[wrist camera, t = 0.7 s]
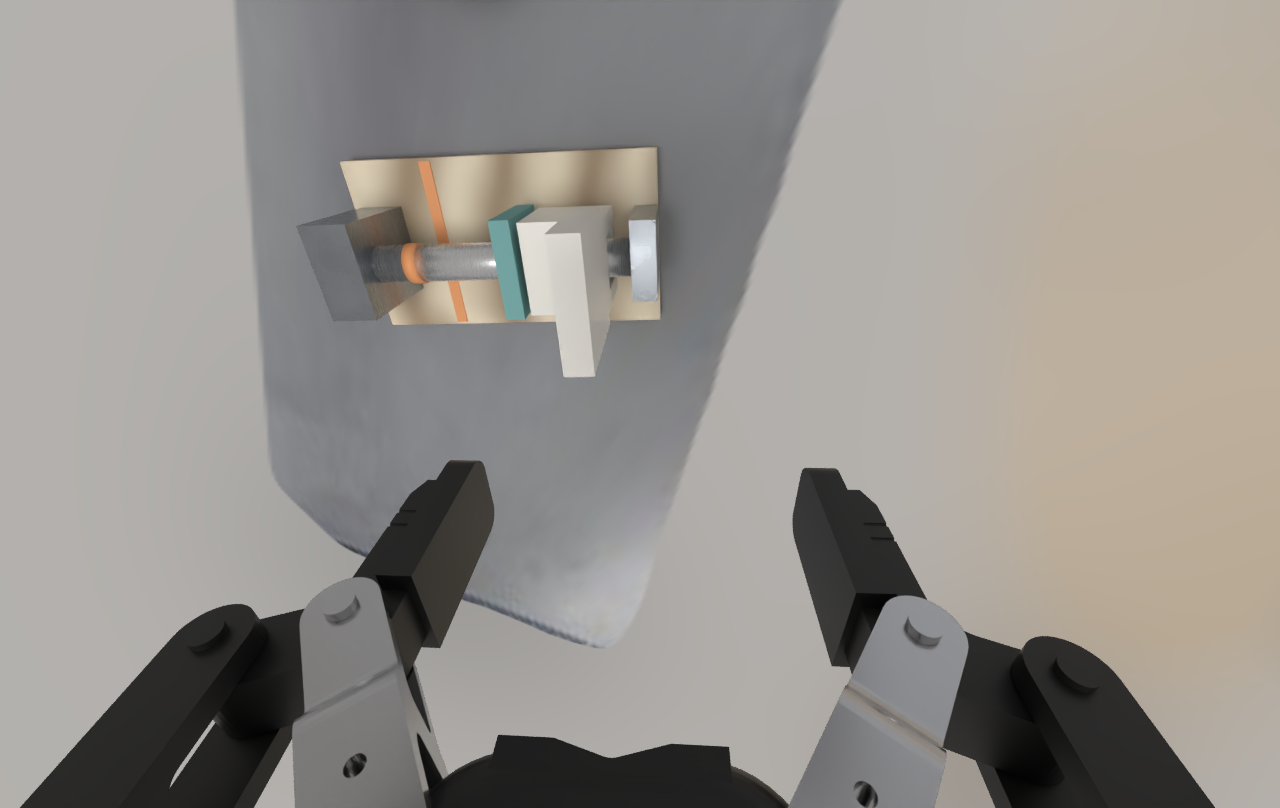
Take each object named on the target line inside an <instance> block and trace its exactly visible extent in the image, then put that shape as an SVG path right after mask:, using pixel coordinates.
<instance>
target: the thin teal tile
mask: <svg viewBox="0 0 1280 808" xmlns="http://www.w3.org/2000/svg"><path fill="white" fill-rule="evenodd" d="M533 211H534V204H528V205H515V206H513V207H512V208H510V209H508V210H506V211H504V212H503V213H501V214H499V215H497V216H495V217H493V218H492V219H490V220H488V221H487V222H488V227H489V233H490V238H491V243H492V248H493V253H494V258H495V263H496V268H497V274H498V279H499V284H500V289H501V294H502V299H503V304H504V309H505V315H506V320H525V319H526V318H527V316H528V315H529V314H530V312H531V309H530V303H529V297H528V291H527V285H526V279H525V276H524V270H523V264H522V258H521V252H520V246H519V237H518V231H517V225H516V223H517V222H518V221H520V220H521V219H523V218H524V217H526V216H527V215H529V214H530V213H532V212H533Z"/></svg>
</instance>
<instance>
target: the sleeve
mask: <svg viewBox="0 0 1280 808" xmlns="http://www.w3.org/2000/svg"><path fill="white" fill-rule="evenodd" d="M516 225H517V231H518V237H519V243H520V249H521V255H522V261H523V267H524V273H525V279H526V285H527V291H528V297H529V303H530V309H531V316H536V315H555V317H556V325H557V332H558V339H559V346H560V353H561V361H562V368H563V375H564V377H595V375H596V371H597V368H598V365H599V361H600V358H601V354H602V351H603V348H604V344H605V341H606V337H607V334H608V330H609V327H610V315H609V314H610V311H611V307H612V304H613V301H614V298H615V295H616V291H617V288H618V282H617V277H609V268H608V255H607V242H606V238H615V237H614V222H613V207H612V205H599V206H571V207H544V208H538V209H536V210H535V211H533V212H532V213H530V214H529V215H527V216H526V217H524V218H523V219H521V220H520V221H518V222H517V223H516Z"/></svg>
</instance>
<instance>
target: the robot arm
mask: <svg viewBox="0 0 1280 808" xmlns="http://www.w3.org/2000/svg"><path fill="white" fill-rule="evenodd" d="M493 521H494V505H493V500H492V496H491V492H490V488H489V484H488V480H487V475H486V471H485V467H484V465H483V463H482V462H481V461H463V460H451V461H449V462H448V463H447V464H446V466H445V467H444V469H443V470H442V472H441V473H440V475H439V476H438V478H437V480H427V481H426V482H425V483H424V484H422V485H421V486H420V487H418V488H417V489H416V490H415V491H413V492H412V493H411V494H410V495H409V497H408V498H407V499H406V501H405V502H404V504H403V505H402V507H401V508H400V511H399V513H397V514H396V515H395V517H394V518H393V520H392V521H391V523H390V527H387V528H386V530H385V531H384V533H383V534H382V536H381V537H380V539H379V540H378V542H377V543H376V544H375V546H374V547H373V549H372V550H371V552H370V553H369V555H368V556H367V557H366V559H365V560H364V562H363V563H362V565H361V566H360V568H359V569H358V571H357V572H356V574H355V575H354V576H353V578H349V579H345V580H342V581H340V582H337V583H335V584H333V585H331V586H329V587H328V588H326V589H324V590H323V591H322V592H320V593H319V594H318V595H317V596H315V597H314V598H313V599H312V600H311V601H310V603H309V604H308V605H307V607H306V608H305V609H302V610H297V611H293V612H289V613H285V614H280V615H277V616H272V617H268V618H264V619H259V618H258V617H257V615H256V614H255V612H254V611H253V610H252V609H251V608H250V607H249V606H246V605H243V604H232V605H227V606H222V607H219V608H216V609H213V610H211V611H208V612H206V613H204V614H202V615H200V616H199V617H197V618H195V619H194V620H192V621H191V622H189V623H188V624H187V625H185V626H184V627H183V628H182V629H180V630H179V631H178V632H177V633H176V634H175V635H174V636H173V637H172V638H171V639H170V640H169V642H168V643H167V644H166V645H165V646H164V647H163V648H162V649H161V650H160V652H159V653H158V654H157V655H156V656H155V657H154V658H153V659H152V661H151V662H150V663H149V664H148V665H147V666H146V667H145V668H144V669H143V671H142V672H141V673H140V674H139V675H138V676H137V677H136V678H135V680H134V681H133V682H132V683H131V684H130V685H129V686H128V687H127V689H126V690H125V691H124V692H123V693H122V694H121V695H120V696H119V697H118V699H117V700H116V701H115V702H114V703H113V704H112V705H111V706H110V708H109V709H108V710H107V711H106V712H105V713H104V714H103V715H102V717H101V718H100V719H99V720H98V721H97V722H96V723H95V725H94V726H93V727H92V728H91V729H90V730H89V731H88V732H87V733H86V734H85V736H84V737H83V738H82V739H81V740H80V741H79V742H78V743H77V745H76V746H75V747H74V748H73V749H72V750H71V751H70V752H69V753H68V755H67V756H66V757H65V758H64V759H63V760H62V761H61V762H60V764H59V765H58V766H57V767H56V768H55V769H54V770H53V771H52V772H51V774H50V775H49V776H48V777H47V778H46V779H45V780H44V782H42V784H41V785H40V786H39V787H38V788H37V789H36V790H35V791H34V793H33V794H32V795H31V796H30V797H29V798H28V799H27V800H26V802H25V803H24V804H23V805H22V806H21V807H20V808H254V806H255V804H256V803H257V801H258V799H259V797H260V795H261V794H262V792H263V790H264V788H265V786H266V784H267V783H268V781H269V779H270V777H271V776H272V774H273V772H274V770H275V768H276V767H277V765H278V763H279V761H280V759H281V758H282V755H283V754H284V752H285V750H286V749H287V747H288V745H289V743H290V741H291V739H292V743H293V767H294V791H295V792H294V793H295V808H934V806H935V802H936V798H937V795H938V791H939V787H940V783H941V779H942V775H943V771H944V767H945V762H946V750H944V749H943V748H945V749H947V750H950V751H953V752H955V753H958V754H961V755H963V756H966V757H969V758H971V759H973V760H976V762H977V765H978V767H979V770H980V772H981V774H982V777H983V779H984V781H985V784H986V786H987V789H988V791H989V793H990V796H991V798H992V800H993V803H994V805H995V808H1215V807H1214V806H1213V804H1212V803H1211V801H1210V800H1209V799H1208V798H1207V796H1206V795H1205V794H1204V792H1203V791H1202V790H1201V788H1200V787H1199V785H1198V784H1197V783H1196V781H1195V780H1194V779H1193V777H1192V776H1191V774H1190V773H1189V772H1188V770H1187V769H1186V768H1185V766H1184V765H1183V764H1182V762H1181V761H1180V760H1179V758H1178V757H1177V755H1176V754H1175V753H1174V752H1173V750H1172V749H1171V747H1170V746H1169V745H1168V743H1167V742H1166V741H1165V739H1164V738H1163V737H1162V735H1161V734H1160V732H1159V731H1158V730H1157V728H1156V727H1155V726H1154V724H1153V723H1152V722H1151V720H1150V719H1149V718H1148V716H1147V715H1146V713H1145V712H1144V711H1143V709H1142V708H1141V707H1140V706H1139V704H1138V703H1137V701H1136V700H1135V699H1134V697H1133V696H1132V695H1131V693H1130V692H1129V691H1128V689H1127V688H1126V687H1125V685H1124V684H1123V682H1122V681H1121V680H1120V679H1119V677H1118V676H1117V675H1116V674H1115V673H1114V671H1113V670H1112V669H1110V668H1109V667H1108V666H1107V665H1106V664H1105V663H1104V662H1103V661H1101V660H1100V659H1099V658H1098V657H1096V656H1094V655H1093V654H1092V653H1090V652H1089V651H1087V650H1085V649H1084V648H1082V647H1080V646H1078V645H1076V644H1074V643H1071V642H1069V641H1066V640H1063V639H1059V638H1055V637H1049V636H1040V637H1035V638H1033V639H1030V640H1029V641H1028V642H1027V643H1026V644H1025V646H1024V647H1023V648H1022V650H1020V649H1017V648H1013V647H1010V646H1007V645H1004V644H1000V643H997V642H994V641H991V640H987V639H984V638H980V637H978V636H975V635H972V634H970V633H967V632H965V631H964V630H963V629H962V627H961V626H960V624H959V623H958V622H957V621H956V619H955V618H954V617H953V616H952V615H950V614H949V613H948V612H947V611H946V610H944V609H943V608H941V607H940V606H938V605H936V604H935V603H933V602H930V601H928V600H927V599H926V597H925V595H924V593H923V591H922V590H921V588H920V586H919V584H918V582H917V580H916V578H915V576H914V575H913V573H912V571H911V569H910V567H909V565H908V563H907V561H906V560H905V558H904V556H903V554H902V552H901V550H900V548H899V546H898V544H897V542H894V537H893V535H892V533H891V531H890V530H889V528H888V527H887V526H886V522H885V520H884V518H883V516H882V514H881V512H880V511H879V509H878V507H877V505H876V504H875V503H873V502H872V501H871V500H870V499H869V498H868V497H867V496H866V495H864V494H863V493H862V492H861V491H860V490H847V488H846V485H845V483H844V481H843V479H842V477H841V475H840V473H839V471H838V470H837V469H834V468H804V469H803V470H802V473H801V477H800V482H799V487H798V492H797V497H796V502H795V507H794V512H793V534H794V539H795V542H796V546H797V549H798V553H799V556H800V560H801V563H802V567H803V570H804V573H805V576H806V580H807V583H808V587H809V590H810V594H811V597H812V600H813V604H814V607H815V611H816V614H817V617H818V621H819V624H820V628H821V631H822V634H823V638H824V641H825V644H826V648H827V651H828V655H829V658H830V662H831V665H832V666H840V667H850V670H851V673H852V676H851V678H850V680H849V682H848V684H847V686H845V688H844V689H843V691H842V694H841V695H840V698H839V700H838V702H837V704H836V706H835V708H834V710H833V712H832V715H831V717H830V719H829V721H828V723H827V725H826V727H825V730H824V732H823V734H822V736H821V738H820V740H819V742H818V745H817V747H816V749H815V751H814V753H813V755H812V757H811V760H810V762H809V764H808V766H807V768H806V771H805V772H804V775H803V777H802V779H801V781H800V783H799V785H798V788H797V790H796V792H795V794H794V796H793V798H792V800H791V803H790V805H788V804H787V803H786V801H785V800H784V799H783V798H782V797H781V796H779V795H778V794H777V793H776V792H775V791H774V790H773V789H771V788H770V787H769V786H768V785H766V784H765V783H763V782H762V781H760V780H759V779H758V778H756V777H754V776H753V775H750V774H749V773H747V772H745V771H743V770H741V769H738V768H736V767H733V766H731V763H730V752H729V747H721V746H702V745H683V744H669V745H665V746H661V747H657V748H653V749H649V750H645V751H641V752H637V753H633V754H629V755H625V756H621V757H616V758H607V757H603V756H601V755H598V754H595V753H593V752H590V751H588V750H585V749H582V748H579V747H577V746H574V745H572V744H569V743H566V742H564V741H561V740H558V739H556V738H549V737H529V736H510V735H498V737H497V741H496V744H495V748H494V752H493V754H491V755H487V756H484V757H482V758H479V759H476V760H474V761H471V762H470V763H468V764H466V765H464V766H462V767H460V768H458V769H457V770H455V771H454V772H452V773H451V774H450V775H448V772H447V769H446V766H445V763H444V761H443V758H442V755H441V753H440V750H439V747H438V744H437V741H436V737H435V734H434V730H433V727H432V723H431V719H430V716H429V712H428V708H427V705H426V701H425V697H424V694H423V690H422V686H421V683H420V680H419V675H418V672H417V668H416V666H415V663H414V661H415V660H416V657H417V655H418V653H419V651H420V649H421V647H431V648H440V647H441V645H442V642H443V640H444V637H445V636H446V633H447V631H448V629H449V626H450V624H451V622H452V619H453V617H454V615H455V612H456V610H457V608H458V606H459V603H460V601H461V599H462V596H463V594H464V592H465V589H466V587H467V585H468V582H469V580H470V578H471V576H472V573H473V571H474V569H475V566H476V564H477V562H478V559H479V557H480V555H481V553H482V550H483V548H484V546H485V543H486V541H487V539H488V536H489V534H490V532H491V529H492V526H493ZM212 720H214V721H215V722H216V723H215V724H214V725H213V727H212V729H211V730H210V731H209V733H208V734H207V736H206V737H205V739H204V740H203V741H202V743H201V744H200V746H199V747H198V748H197V750H196V751H195V753H194V754H193V756H192V757H191V759H190V760H189V761H188V763H187V764H186V766H185V767H184V769H183V770H182V771H181V773H180V774H179V776H178V777H177V779H176V780H175V782H174V783H173V784H172V786H171V787H170V785H171V781H172V779H173V777H174V775H175V773H176V771H177V770H178V768H179V767H180V765H181V764H182V762H183V761H184V759H185V758H186V757H187V755H188V754H189V752H190V751H191V749H192V748H193V747H194V745H195V744H196V742H197V741H198V739H199V738H200V737H201V735H202V734H203V732H204V731H205V730H206V728H207V727H208V725H209V724H210V722H211V721H212ZM169 788H170V789H169Z"/></svg>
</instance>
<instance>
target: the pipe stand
mask: <svg viewBox="0 0 1280 808" xmlns="http://www.w3.org/2000/svg"><path fill="white" fill-rule="evenodd" d="M340 164H341V167H342V170H343V173H344V176H345V179H346V182H347V185H348V189H349V192H350V195H351V198H352V201H353V204H354V207H355V210H352V211H348V212H345V213H341V214H337V215H334V216H330V217H327V218H323V219H320V220H316V221H313V222H309V223H306V224H302V225H299V226H296V227H297V229H298V232H299V234H300V237H301V239H302V242H303V244H304V247H305V250H306V252H307V255H308V257H309V260H310V262H311V265H312V267H313V270H314V273H315V275H316V278H317V280H318V283H319V285H320V288H321V290H322V293H323V295H324V298H325V301H326V303H327V306H328V308H329V311H330V313H331V316H332V318H333V321H359V320H378V319H379V318H381V317H382V316H384V315H385V314H387V313H388V312H389V314H390V317H391V320H392V323H393V325H410V324H460V323H510V322H556V317H555V315H536V316H531V312H530V314H529V315H528V316H527V318H526V319H525V320H506V315H505V309H504V304H503V299H502V294H501V289H500V284H499V279H498V274H497V268H496V263H495V258H494V253H493V248H492V243H491V238H490V233H489V227H488V222H487V221H488V220H490V219H492V218H493V217H495V216H497V215H499V214H501V213H503V212H504V211H506V210H508V209H510V208H512V207H513V206H515V205H528V204H534V211H535V210H536V209H538V208H544V207H571V206H599V205H612V207H613V222H614V237H615V238H606V242H607V255H608V268H609V277H617V282H618V288H617V291H616V295H615V298H614V301H613V304H612V307H611V311H610V314H609V315H610V321H611V320H660V264H659V215H658V166H657V147H636V148H614V149H591V150H569V151H547V152H524V153H502V154H479V155H457V156H435V157H412V158H390V159H367V160H350V161H342V162H340ZM519 246H520V243H519ZM520 252H521V249H520ZM521 258H522V255H521ZM522 264H523V261H522ZM523 270H524V267H523ZM524 276H525V273H524Z"/></svg>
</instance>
